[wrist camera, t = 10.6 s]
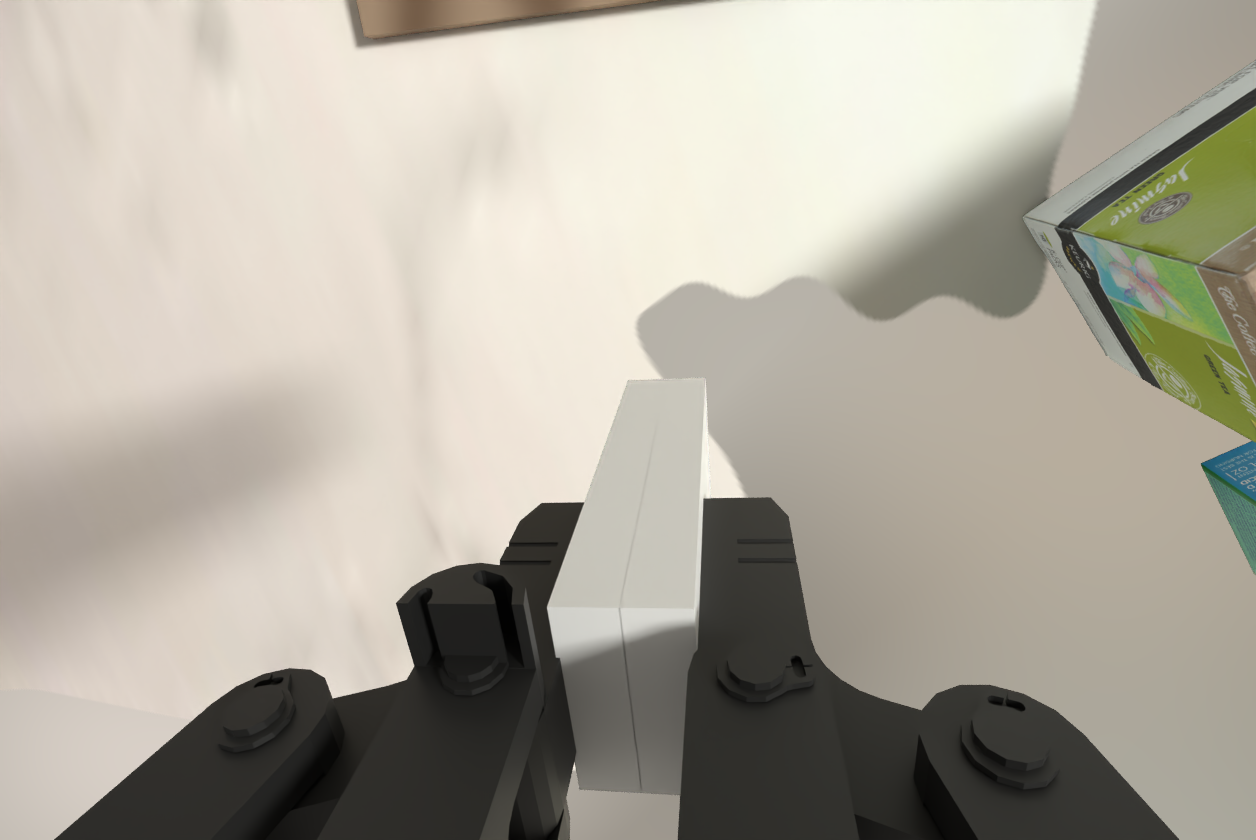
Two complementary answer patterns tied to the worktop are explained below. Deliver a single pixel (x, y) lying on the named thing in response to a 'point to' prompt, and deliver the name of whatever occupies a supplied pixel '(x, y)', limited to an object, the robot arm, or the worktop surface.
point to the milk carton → (1237, 493)
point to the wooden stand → (462, 13)
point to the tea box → (1171, 253)
